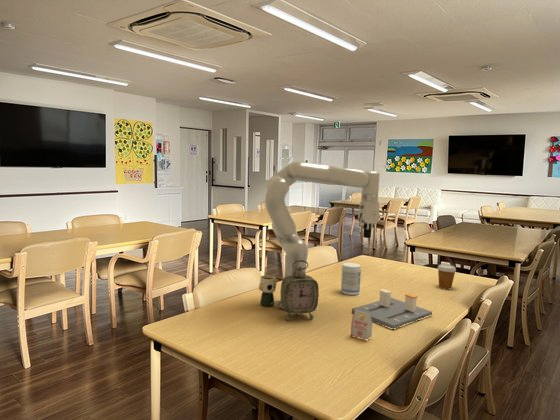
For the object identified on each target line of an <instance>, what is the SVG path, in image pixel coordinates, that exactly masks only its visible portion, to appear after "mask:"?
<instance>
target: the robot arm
mask: <svg viewBox="0 0 560 420" xmlns="http://www.w3.org/2000/svg"><path fill="white" fill-rule="evenodd" d="M380 176H381V175H380V172H379V171H377V170H376V171H374V170H371V171H370V170H366V171H364V170H359V169H352V168H351V169H350V168H343V167H338V166H333V165H328V164H323V163H322V164H321V163H314V162H307V161H306V162H305V161H292V162H290V163H289V164H287V165H286V166H284V167H283V168H282V169H281V170H279V171H278V172H276V173H275V174H274V175H273V176H271V177H269V179H268V180H267V182H266V189H267V190H266V193H265V198H264V204H265V209H266V211H267V214H268V216H269V218H270V220H271V227H272V231H273V233H274V235H275V236H276V237H275V238H276V239H277V241H278V242H279V245H280V247H281V248H282V250H283V252H284V253H285V256H286V257H285V263H284V271H283V272H284V277H286V276H291V275H294V273H295V272H296V271H298V270H296V269H294V268H293V267H292V265H293V263H294V262H295V261H297V260H304V261H306V262H307V260H308V255H309V249H308V246H307V243H306V242H305V240H303V239H301V238H300V236H299V234H298V233H297V225H296V222H295V221H294V219H293V218H292V217H293V216H291V213H290V211H289V209H288V207H287V204H286V201H285V200H286V196H287V194H288V192H289V191H290V187H291V186H292V185H293V184H295V183H296V182H298V181H299V182H303V183H304V182H306V183H312V184H313V183H314V184H321V185H329V186H330V185H331V186H343V187H350V188H361V195H360V198H361V199H360V202H359V203H360V204H359V208H358V215H357V218H358V219H357V220H358V223H359V224H358V225H359V226H361V227H362V229H363V233H362V236H363V238H365V239H371V237H372V230H373V227H374V226H375V225H377V223H379V221H380V202H379V190H380V178H381V177H380ZM293 266H294V267H295V268H299V267H301V268H305V267H307V263H305V262H296V263H295V264H294V265H293ZM306 269H307V268H306ZM306 269H304V270H301V271H304V272H305V274H306ZM306 275H307V274H306ZM284 277H283V278H284ZM274 305H275V306H279V307H280V308H282V309H283V310H285V308H284V307H283V306H282V303H281V299H278V300H274Z"/></svg>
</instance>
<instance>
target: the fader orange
mask: <svg viewBox="0 0 560 420" xmlns="http://www.w3.org/2000/svg"><path fill="white" fill-rule="evenodd" d="M404 297H405V299H404V300H405V301H404V302H405V310H408V311H411V312H414V311H416V306H417V299H418V296H417V295H415V294H412V293H405V294H404Z"/></svg>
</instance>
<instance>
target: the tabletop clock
mask: <svg viewBox="0 0 560 420" xmlns="http://www.w3.org/2000/svg"><path fill="white" fill-rule="evenodd" d="M296 262H305V263H306V267H305V268H301V267H299V268H295V267H294V266H293V265H294V264H295V263H296ZM293 265H292V267H293V268H294V269H296V270H298V271H296V272H295V273H294V275H291V276H286V277H283V279H282V281H281V284H280V300H281V303H282V306H283V307H284V308H285V309H284V310H285V311H286V312H287V316H286V317H285V321H287V322H289V320H290V315H291V314H293V315H294V316H295V317H297V316H298V315H302V314H309V319H310V320H313V319H314V315H313V314H311V313H313V312H315V311H316V310H317V308H318V303H319V296H320V295H319V289H320V288H319V284H318V282H317V280H316V279H314V278H313V277H312V276H310V275H307V274H305V272H304V271H301V270H304V269H308V268H309V262H307V261H304V260H297V261H295V262H294V263H293Z"/></svg>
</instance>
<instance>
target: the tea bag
mask: <svg viewBox="0 0 560 420" xmlns="http://www.w3.org/2000/svg"><path fill="white" fill-rule="evenodd" d="M372 330H373V322H372V319H371V314H369V313H365V312H362V311H358V310H354V314H353V316H352V319H351V328H350V336H351V335H352V336H351V337H353V336H355V337H354V338H356V337H360V338H363V339H368V338H370V337H371V338H372V335H373V333H372V332H373V331H372Z"/></svg>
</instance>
